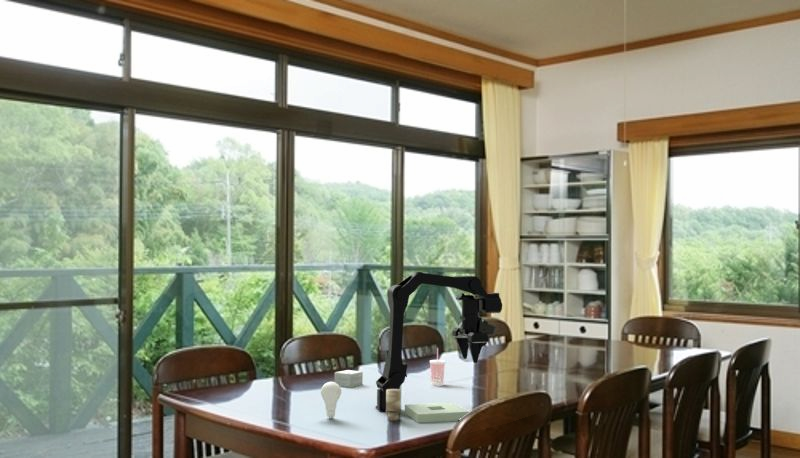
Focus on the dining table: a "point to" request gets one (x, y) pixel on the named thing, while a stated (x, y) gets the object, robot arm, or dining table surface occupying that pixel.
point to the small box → (348, 378)
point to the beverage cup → (437, 371)
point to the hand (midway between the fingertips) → (470, 360)
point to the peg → (393, 404)
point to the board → (435, 412)
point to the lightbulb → (330, 397)
